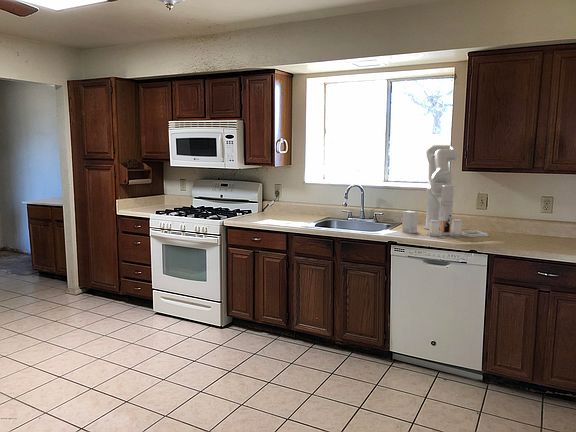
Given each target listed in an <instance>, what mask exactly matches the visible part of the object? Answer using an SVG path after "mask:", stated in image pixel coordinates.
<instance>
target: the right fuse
mask: <svg viewBox="0 0 576 432" xmlns="http://www.w3.org/2000/svg"><path fill="white" fill-rule="evenodd" d="M462 228H463V219H459V218H458V219H452V223H451V227H450V232H451V231H453V232H454V233H453V235H454V236H460V235H461V232H462V231H463V229H462Z"/></svg>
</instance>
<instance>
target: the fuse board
mask: <svg viewBox="0 0 576 432" xmlns="http://www.w3.org/2000/svg"><path fill="white" fill-rule="evenodd" d="M453 233H454V232H453V231H451V230H450V234H447V235H442V232H441V231H440V230H439V236H431V232H429V230H428V231H427V233H425V234H424V235H425V236H428V237H430V238H447V237H449V238H452V237H453V238H454V237H455V238H456V237H459V238H460V237H465V235H462V232H461V235H460V236H454V235H453Z"/></svg>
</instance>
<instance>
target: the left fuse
mask: <svg viewBox="0 0 576 432" xmlns="http://www.w3.org/2000/svg"><path fill="white" fill-rule="evenodd" d="M428 231H429V232H431V236H439V231H440V230H439V221H438V220H429V229H428Z"/></svg>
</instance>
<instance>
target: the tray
mask: <svg viewBox="0 0 576 432" xmlns="http://www.w3.org/2000/svg"><path fill="white" fill-rule="evenodd" d="M462 235H464V237H468V238H470V237H471V238H476V237H479V238H481V237H489V233H486V232H483V231H480V230H477V229H476V230H474V229H473V230H462Z"/></svg>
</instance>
